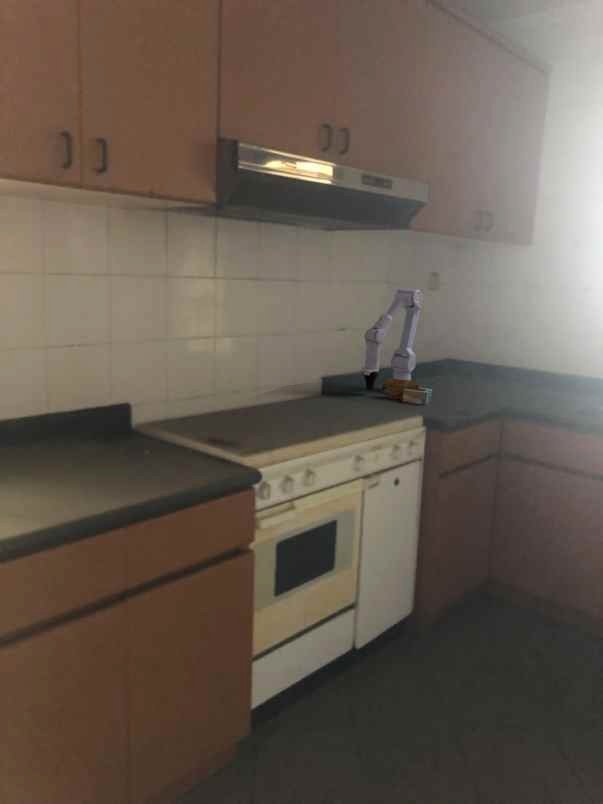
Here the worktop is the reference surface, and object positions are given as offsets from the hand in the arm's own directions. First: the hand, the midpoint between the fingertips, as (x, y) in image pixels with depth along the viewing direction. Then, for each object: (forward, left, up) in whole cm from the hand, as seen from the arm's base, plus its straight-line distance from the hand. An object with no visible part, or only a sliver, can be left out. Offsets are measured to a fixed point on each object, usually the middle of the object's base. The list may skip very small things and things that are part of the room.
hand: (369, 390), depth 277 cm
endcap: (0, +20, -2) cm, 20 cm away
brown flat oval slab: (0, +13, -2) cm, 13 cm away
